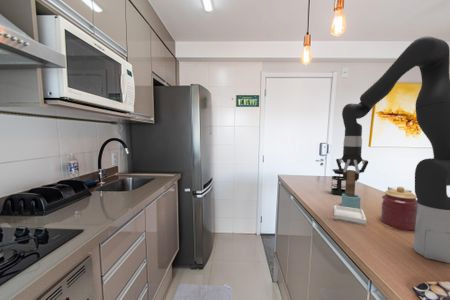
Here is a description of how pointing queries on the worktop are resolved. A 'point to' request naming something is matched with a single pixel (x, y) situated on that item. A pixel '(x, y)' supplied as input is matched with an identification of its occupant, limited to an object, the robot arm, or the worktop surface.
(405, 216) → the canister
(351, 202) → the teal pot
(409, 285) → the worktop surface
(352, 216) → the white tray
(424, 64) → the robot arm
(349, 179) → the walnut peg
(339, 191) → the french press
